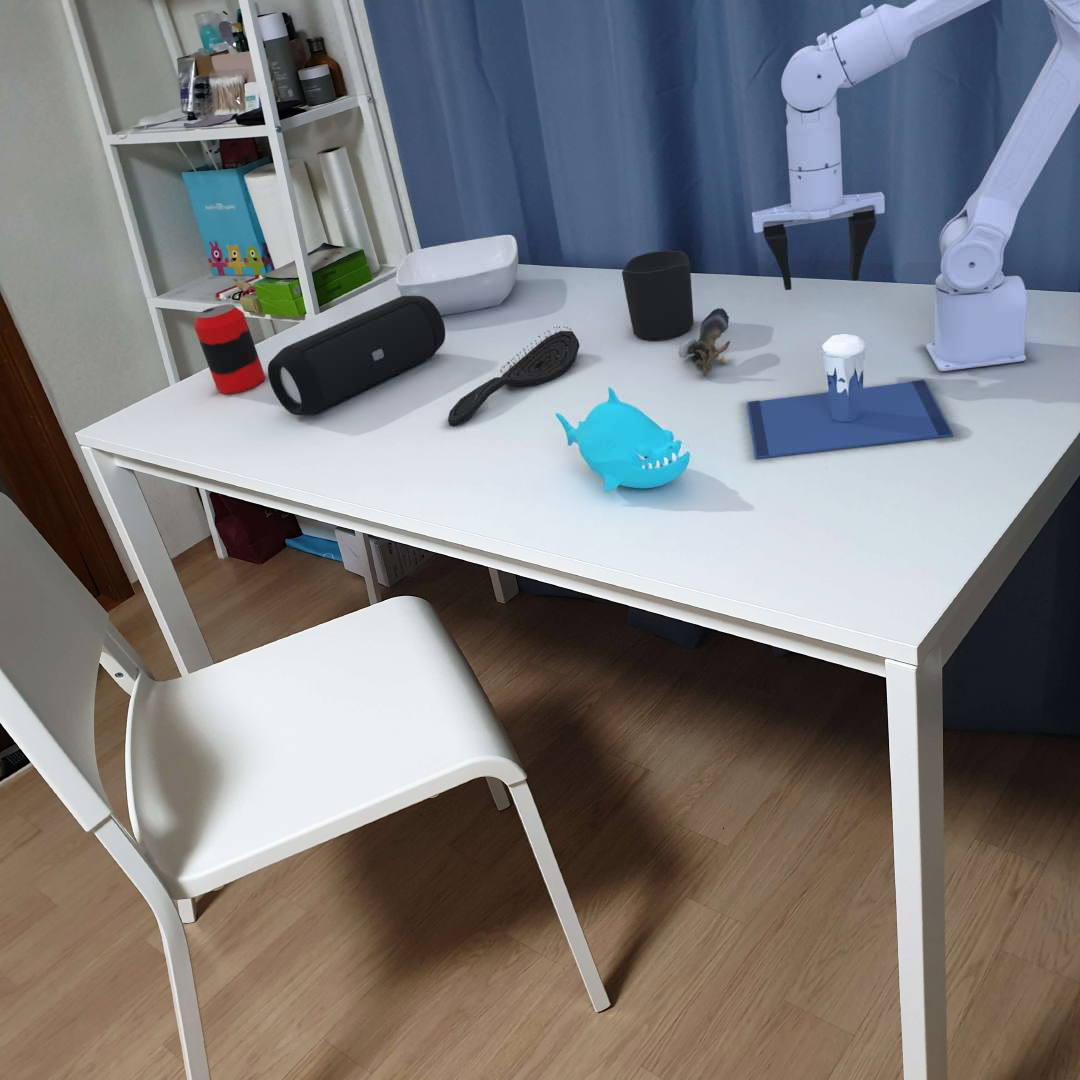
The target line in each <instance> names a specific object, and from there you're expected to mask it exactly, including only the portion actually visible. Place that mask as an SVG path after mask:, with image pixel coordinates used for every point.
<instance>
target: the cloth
mask: <svg viewBox="0 0 1080 1080" xmlns="http://www.w3.org/2000/svg"><path fill="white" fill-rule="evenodd" d="M746 404H747V405H746V406H747V411H748V416H749V417H748V418H749V426H750V431H751V438H752V444H753V451H754V456H755V457H754V458H755V460H757V459H758V460H759V459H766V458H776V457H785V456H793V455H801V454H802V455H803V454H810V453H819V452H827V451H835V450H845V449H853V448H854V449H855V448H862V447H863V448H864V447H871V446H880V445H887V444H895V443H905V442H914V441H922V440H930V439H940V438H948V437H950V438H951V437H954V433H953V431H952V429H951V427H950V425H949V423H948V421H947V420H946V417H945V415H944V414H943V412H942V410H941V407H940V406H939V404H938V402H937V400H936V399H935V397H934V395H933V393H932V391H931V389H930V387H929V385H928V383H927V382H926V380H925V379H921V380H912V381H909V382H900V383H892V384H885V385H876V386H868V387H863V397H862V415H861V416H860V417H859V418H858V419H857V420H854V421H850V422H838V421H835V420H833V419H832V417H831V414H830V406H829V398H828V392H821V393H813V394H805V395H797V396H789V397H781V398H772V399H766V400H765V399H764V400H751V401H748V402H747V403H746Z"/></svg>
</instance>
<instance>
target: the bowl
mask: <svg viewBox="0 0 1080 1080" xmlns="http://www.w3.org/2000/svg"><path fill="white" fill-rule="evenodd" d="M517 243H518V242H517V240H516V238H515V236H514V235H512V234H503V235H494V236H488V237H481V238H475V239H470V240H463V241H457V242H452V243H445V244H440V245H435V246H429V247H425V248H421V249H417V250H413V251H412V252H410V253H408V254H407V255H406V256H405V257H404V258H403V260H402V261H401V262H400V264H399V267H398V268H397V271H396V275H395V284H396V286H397V290H398V291H399V294H400V297H401V296H423V297H425V298H427V299H429V300H430V301H431V302H432V303H433V304H434V305H435V307H436V308H437V309H438V311H439V313H440V315H441V317H442V316H449V315H455V314H460V313H461V314H462V313H466V312H467V313H468V312H472V311H477V310H483V309H489V308H493V307H498V306H500V305H501V304H502V303H503V301H504V300H505V299H507V297H508V296H509V295H510V293H511V291H512V290H513V288H514V284H515V281H516V279H517V274H518V268H519V251H518V244H517Z"/></svg>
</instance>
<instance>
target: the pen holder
mask: <svg viewBox="0 0 1080 1080" xmlns="http://www.w3.org/2000/svg"><path fill="white" fill-rule="evenodd" d="M691 275H692V274H691V262H690V258H689V256H688V254H686V253H685V252H684V251H680V250H658V251H651V252H646V253H642V254H639V255H637V256H634V257H632V258H631V259H630V260H629V261H627V263H626V264H625V265H624V267H623V269H622V272H621V276H622V281H623V286H624V287H623V288H624V292H625V298H626V302H627V308H628V314H629V318H630V323H631V329H632V332H633V334H634V336H635V337H637V339H640V340H643V341H651V342H652V341H653V342H654V341H664V340H671V339H675V338H677V337H680V336H683V335H685V334H686V333H688V332H689V331H691V329H692V327H693V326H694V307H693V306H694V303H693V290H692V276H691Z"/></svg>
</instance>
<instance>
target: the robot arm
mask: <svg viewBox="0 0 1080 1080" xmlns="http://www.w3.org/2000/svg"><path fill="white" fill-rule="evenodd" d="M990 1H991V0H915V1H913V2H912V3H910V4H908V5H907V6H905V7H897V6H896V5H895V6H894V5H891V4H888V3H884V4H881V5H879V7H876V8H875V6H874V5H873V4H869V5H868V6H866V7H864V8H862V9H861V11H860V14H859V15H860V17H859V18H857V19H855V20H854V21H852V22H850V23H848V24H846V25H844V26H843V27H841V28H840V29H838V30H836V31H834V32H832V33H831V34H829V35H828V34H827V32H823V33H822V34H819V35H818V36H817V37H816V42H817V44H818V45H807V46H805V47H802V48H801V49H799V50H798V51H796V52H795V53H794V54H793V55H792V56H791V57H790V59H789V61H788V63H787V64H786V66H785V68H784V70H783V71H782V76H781V81H780V82H781V83H780V84H781V85H780V86H781V92H782V96H783V98H784V99H785V101H786V102H787V103H786V107H785V116H786V120H787V124H786V126H785V132H786V147H787V163H788V175H789V176H788V178H789V193H790V194H789V195H790V203H787V204H782V205H779V206H775V207H771V208H767V209H763V210H757V211H752V212H751V220H752V230H753V233H754V234H756V233H757V234H758V233H762V234H763V237H764V240H765V242H766V244H767V246H768V248H769V249H770V251H771V252H772V254H773V256H774V258H775V260H776V262H777V264H778V267H779V270H780V273H781V277H782V282H783V287H784V291H790V290H792V278H791V272H790V265H789V249H788V248H789V246H788V245H789V243H788V236H787V230H786V227H792V226H798V225H799V226H800V225H804V224H812V223H817V222H818V223H819V222H823V221H824V222H825V221H830V220H837V219H843V218H847V223H848V234H849V276H850V278H851V280H852V281H854V282H855V281H859V280H860V272H861V266H862V262H863V258H864V255H865V251H866V249H867V246H868V244H869V241H870V238H871V237H872V235H873V232H874V230H875V229H876V226H877V217H876V216H875V215H880V214H885V212H886V210H885V209H886V208H885V207H886V205H885V195H884V194H883V192H882V191H878V192H870V193H859V194H858V193H857V194H844V193H843V189H844V188H843V168H842V165H843V164H842V142H841V140H842V139H841V118H840V117H839V115H838V102H837V101H838V99H837V92H838V91H837V90H838V89H849V88H851V87H853V86H855V85H857V84H859V83H861V82H863V81H865V80H866V79H868V78H870V77H873V76H874V75H876V74H878V73H879V72H882V71H883V70H886V69H888V68H889V67H891V66H893V65H894V64H897V63H898V62H901V61H902V60H904V59H906V58H907V56H908V55H909V52H910V50H911V48H912V47H911V46H912V44H913V42H914V41H915V39H916V38H918V37H921V36H922V35H924V34H926V33H928V32H930V31H932V30H933V29H937V28H938V27H940V26H942V25H944V24H946V23H948V22H950V21H953V19H956V18H958V17H960V16H962V15H964V14H966V13H968V12H970V11H972V10H974V9H975V8H978V7H980V6H981V5H983V4H986V3H988V2H990ZM1042 1H1043V2H1044V3H1045V5H1046V6H1047V8H1048V14H1049V17H1050V20H1051V23H1052V26H1053V28H1054V29H1053V30H1054V31H1055V34H1056V38H1057V39H1056V40H1057V41H1056V43H1055V45H1054V46H1053V48H1052V50H1051V53H1050V54H1049V56H1048V58H1047V60H1046V61H1045V63H1044V65H1043V67H1042V69H1041V71H1040V73H1039V75H1038V77H1037V78H1036V80H1035V82H1034V83H1033V85H1032V88H1031V90H1030V91H1029V93H1028V95H1027V97H1026V99H1025V101H1024V103H1023V105H1022V106H1021V108H1020V110H1019V112H1018V114H1017V115H1016V118H1015V119H1014V121H1013V123H1012V125H1011V127H1010V128H1009V130H1008V132H1007V134H1006V136H1005V138H1004V140H1003V141H1002V143H1001V145H1000V148H999V149H998V151H997V153H996V155H995V156H994V157H993V161H992V162H991V163H990V166H989V168H988V169H987V171H986V173H985V175H984V177H983V179H982V181H981V182H980V184H979V186H978V188H977V189H976V190H975V191H974V192H973V194H971V196H970V197H969V198H968V199H967V201H966V203H965V205H964V206H963V208H962V210H961V211H960V212H959V213H958V214H957V215H956V216H955V217H953V218H951V219H950V220H949V221H948V222H947V223H946V224H945V226H944V227H943V228H942V230H941V232H940V234H939V239H938V249H939V252H940V256H941V257H940V258H941V261H940V272H941V273H940V274H939V275H937V277H936V279H935V280H934V282H935V287H934V289H935V291H934V292H935V293H934V295H935V296H934V300H935V301H934V342H928V343H925V349H926V351H927V352H928V354H929V356H930V358H931V359H932V361H933V363H934V365H935V366H936V368H937V370H938V371H939V372H948V371H957V370H965V369H973V368H980V367H989V366H995V365H996V366H997V365H1004V364H1012V363H1013V364H1014V363H1020V362H1021V363H1022V362H1024V361H1026V360H1027V356H1026V354H1025V350H1026V349H1025V348H1026V330H1027V311H1028V304H1027V301H1028V300H1027V291H1026V287H1025V283H1024V281H1023V279H1022V277H1020V275H1007V276H1006V275H1004V272H1003V271H1002V269H1003V265H1004V251H1005V248H1006V246H1007V244H1008V242H1009V240H1010V238H1011V236H1012V234H1013V231H1014V228H1015V224H1016V221H1017V217H1018V214H1019V211H1020V209H1021V207H1022V205H1023V204H1024V202H1025V201H1026V199H1027V197H1028V195H1029V194H1030V191H1031V190H1032V188H1033V186H1034V185H1035V183H1036V181H1037V180H1038V177H1039V176H1040V174H1041V172H1042V171H1043V169H1044V167H1045V165H1046V163H1047V162H1048V160H1049V158H1050V156H1051V155H1052V153H1053V151H1054V149H1055V147H1056V146H1057V144H1058V142H1059V141H1060V139H1061V137H1062V135H1063V133H1064V132H1065V130H1066V128H1067V126H1068V125H1069V123H1070V121H1071V120H1072V118H1073V116H1074V114H1075V112H1076V111H1077V109H1078V108H1079V106H1080V0H1042Z"/></svg>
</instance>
